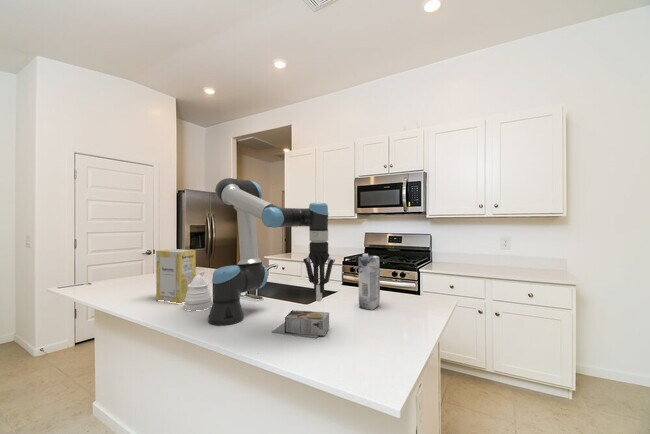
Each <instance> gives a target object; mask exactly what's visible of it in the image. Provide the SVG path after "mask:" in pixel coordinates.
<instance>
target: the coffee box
mask: <svg viewBox="0 0 650 434" xmlns="http://www.w3.org/2000/svg"><path fill="white" fill-rule="evenodd" d="M284 322H285V333H295V334H308V335H319V336H323V337H325V335H326V334H327V332H328V330H329V328H330V312H327V311H326V312H325V311H311V310H293V309H292V310H291V311H289V313H287V314H286V316H285V317H284Z"/></svg>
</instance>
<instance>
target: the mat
mask: <svg viewBox="0 0 650 434" xmlns="http://www.w3.org/2000/svg"><path fill="white" fill-rule="evenodd" d="M271 333H272V334H279V335H287V336H295V337H300V338H301V337H302V338H309V339H314V340H315V339H318V338H319V336H320V335H308V334H295V333H285V321H284V322H283V323H282V324H280V325H279V326H277V327H276V328H274V329H273V330H272V331H271Z"/></svg>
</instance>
